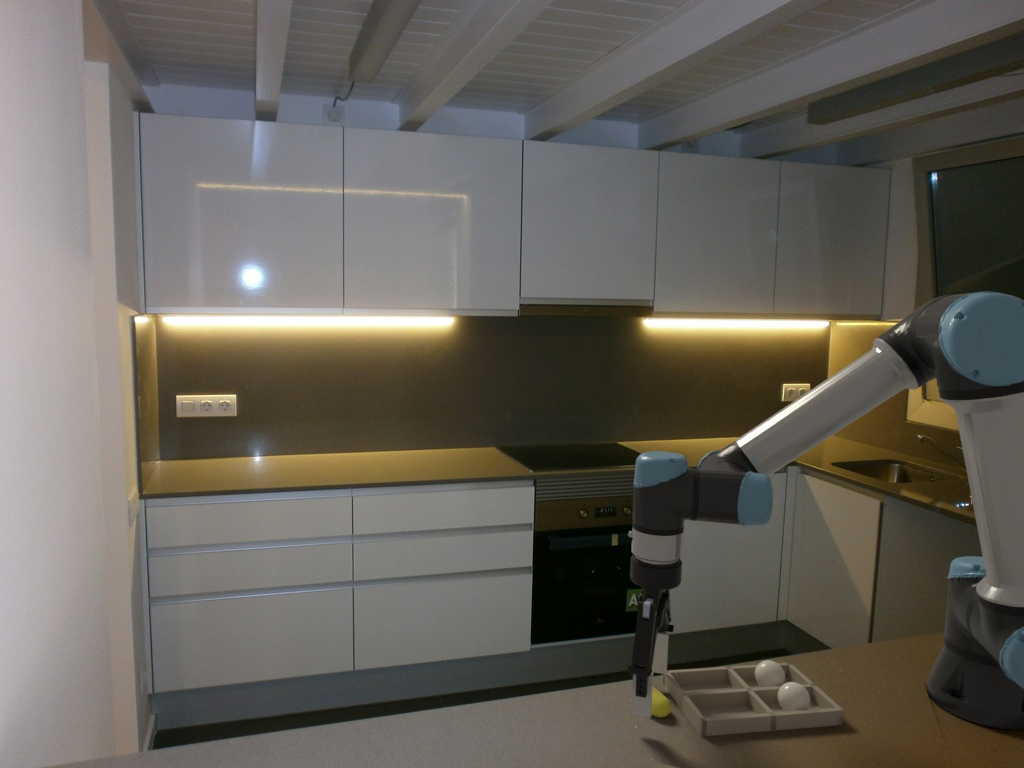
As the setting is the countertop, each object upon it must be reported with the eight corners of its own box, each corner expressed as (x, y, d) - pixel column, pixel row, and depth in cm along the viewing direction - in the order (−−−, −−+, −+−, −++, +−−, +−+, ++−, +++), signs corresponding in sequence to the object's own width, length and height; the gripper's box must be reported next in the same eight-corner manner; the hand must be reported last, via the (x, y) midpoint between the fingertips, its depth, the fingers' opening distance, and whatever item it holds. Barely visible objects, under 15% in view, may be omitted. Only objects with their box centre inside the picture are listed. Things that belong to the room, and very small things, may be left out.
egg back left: (809, 708, 114) (810, 679, 114) (809, 723, 110) (811, 694, 110) (777, 702, 116) (778, 674, 115) (776, 717, 112) (778, 687, 111)
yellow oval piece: (649, 696, 118) (650, 673, 118) (677, 723, 111) (678, 698, 111) (625, 701, 117) (626, 677, 117) (652, 728, 109) (653, 702, 109)
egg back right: (784, 685, 121) (786, 658, 121) (784, 699, 117) (785, 670, 116) (754, 680, 123) (756, 653, 122) (753, 693, 119) (754, 665, 118)
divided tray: (789, 678, 125) (790, 662, 125) (842, 728, 110) (843, 710, 110) (662, 687, 121) (663, 670, 121) (700, 740, 106) (701, 721, 106)
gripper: (646, 530, 124) (641, 652, 127) (612, 580, 101) (606, 729, 103) (693, 536, 122) (686, 661, 124) (668, 589, 98) (661, 741, 101)
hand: (650, 692), depth 114 cm, fingers open, 13 cm apart
